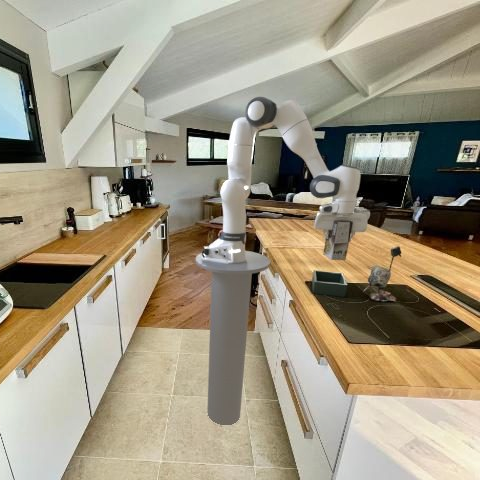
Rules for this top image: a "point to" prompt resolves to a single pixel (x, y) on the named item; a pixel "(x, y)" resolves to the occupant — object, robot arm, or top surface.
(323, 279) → the open box frame
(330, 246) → the coffee box
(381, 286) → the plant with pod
